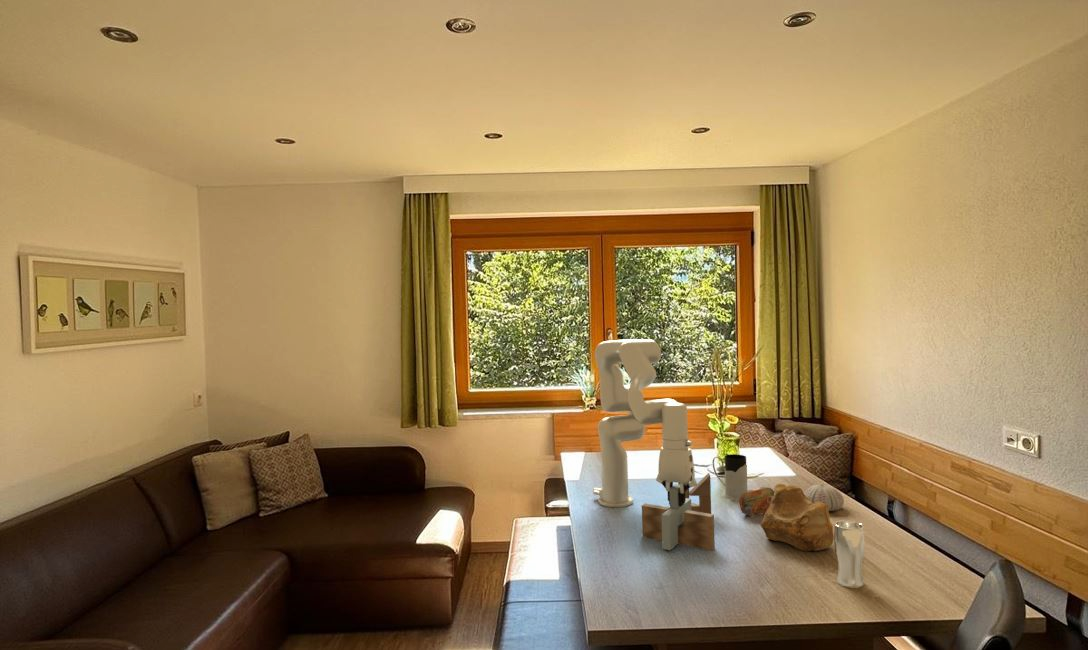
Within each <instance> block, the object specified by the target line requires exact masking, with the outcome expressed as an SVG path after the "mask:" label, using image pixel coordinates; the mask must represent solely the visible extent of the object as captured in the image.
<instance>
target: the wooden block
mask: <svg viewBox="0 0 1088 650" xmlns="http://www.w3.org/2000/svg"><path fill="white" fill-rule="evenodd" d="M687 484H688V483H687ZM677 485H679V483H678V482H677ZM711 487H712V485H711V474H710V473H709V472H707V474H706V475H705V476H703V478H702V479H700V481H698V483H697V485H696V486H694V487H692V488H691V490H690V488H689V489H688V490H687V491H685V495H686V498H688V499H690V497H694V496H695V497H698V503H699V504H698V503H694V502H691V511H696V512H702V513H709V514H712V493H711V491H712V490H711V489H712V488H711Z"/></svg>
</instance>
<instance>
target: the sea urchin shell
mask: <svg viewBox="0 0 1088 650" xmlns="http://www.w3.org/2000/svg"><path fill="white" fill-rule="evenodd" d="M803 493H804V495H805V496H806V497H808V498H809V499H810V500H811V501H812V502H813V504H815V503H816V502H822V503H824V504H825V505H826V506H827V507H828V511H829V512H834V511H839V510H840V509H842V508H843V506H844V504H845V500H844V496H843V495H842V493H840V491H838V490H837V489H836V488H835V487H833V486H830V485H827V484H821V483H820V484H813V485H811V486H809V487H808V488H806V490H804V492H803Z"/></svg>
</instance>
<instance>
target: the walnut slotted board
mask: <svg viewBox="0 0 1088 650" xmlns="http://www.w3.org/2000/svg"><path fill="white" fill-rule="evenodd" d="M668 509H670V506H664V505H657V504H652V503H651V504H650V503H643V504H642V505H641V522H642V523H641V528H642V532H641V533H642V538H644V539H650V540H655V541H658V542H662V514H663V513H664V512H666V511H667V510H668ZM715 543H716V541H715V514H713V513H711V514H709V513H702V512H696V511H690V510H686V511H685V512H684V526H682V525H679V526H678V543H677V544H676V545H679V546H680V545H681V546H686V547H690V548H695V549H701V550H707V551H713V550H714V549H715V548H716V547H715Z"/></svg>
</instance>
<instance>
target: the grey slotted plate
mask: <svg viewBox="0 0 1088 650" xmlns="http://www.w3.org/2000/svg"><path fill="white" fill-rule="evenodd" d="M669 492H670V505H669V507H670V509H668V510H667V511H666V512H664V513H663V514H662V541H661V543H662V547H661V548H662V549H663V550H667V551H671V550H672V549H673V548H675V546H676V545H678V544H677V543H678V526H679V525H682V526H684V512H685V511H686V510H690V511H691V503H692V499H691V498H689V499H688V498H686V502H685V503H684V505H682V506H679V496H678V494H679V493H680V485H678V483H677V484H673V486H672V487H671V488H669Z"/></svg>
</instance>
